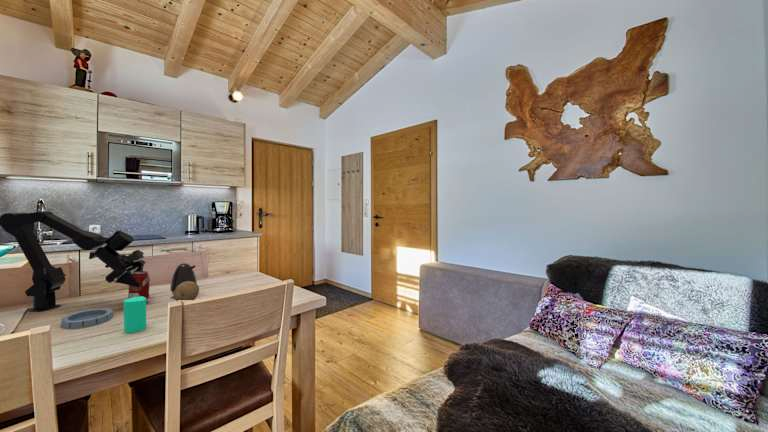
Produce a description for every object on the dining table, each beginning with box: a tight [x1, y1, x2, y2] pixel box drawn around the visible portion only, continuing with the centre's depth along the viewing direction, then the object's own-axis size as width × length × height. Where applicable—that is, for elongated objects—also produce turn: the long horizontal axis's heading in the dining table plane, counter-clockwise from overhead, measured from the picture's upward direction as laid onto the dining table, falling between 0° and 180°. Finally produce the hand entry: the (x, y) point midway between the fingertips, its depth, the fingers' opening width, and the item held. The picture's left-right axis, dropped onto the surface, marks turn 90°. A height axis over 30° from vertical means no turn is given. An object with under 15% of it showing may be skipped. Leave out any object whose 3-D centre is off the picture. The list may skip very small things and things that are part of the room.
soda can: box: [127, 270, 151, 301], centre depth 125 cm, size 7×7×12 cm
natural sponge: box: [172, 281, 200, 302], centre depth 126 cm, size 9×9×10 cm
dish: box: [60, 307, 114, 330], centre depth 107 cm, size 13×13×2 cm
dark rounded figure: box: [170, 262, 198, 295], centre depth 136 cm, size 10×10×15 cm
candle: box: [123, 296, 147, 334], centre depth 102 cm, size 6×6×12 cm
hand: (143, 284), depth 125 cm, fingers closed on soda can, 7 cm apart
